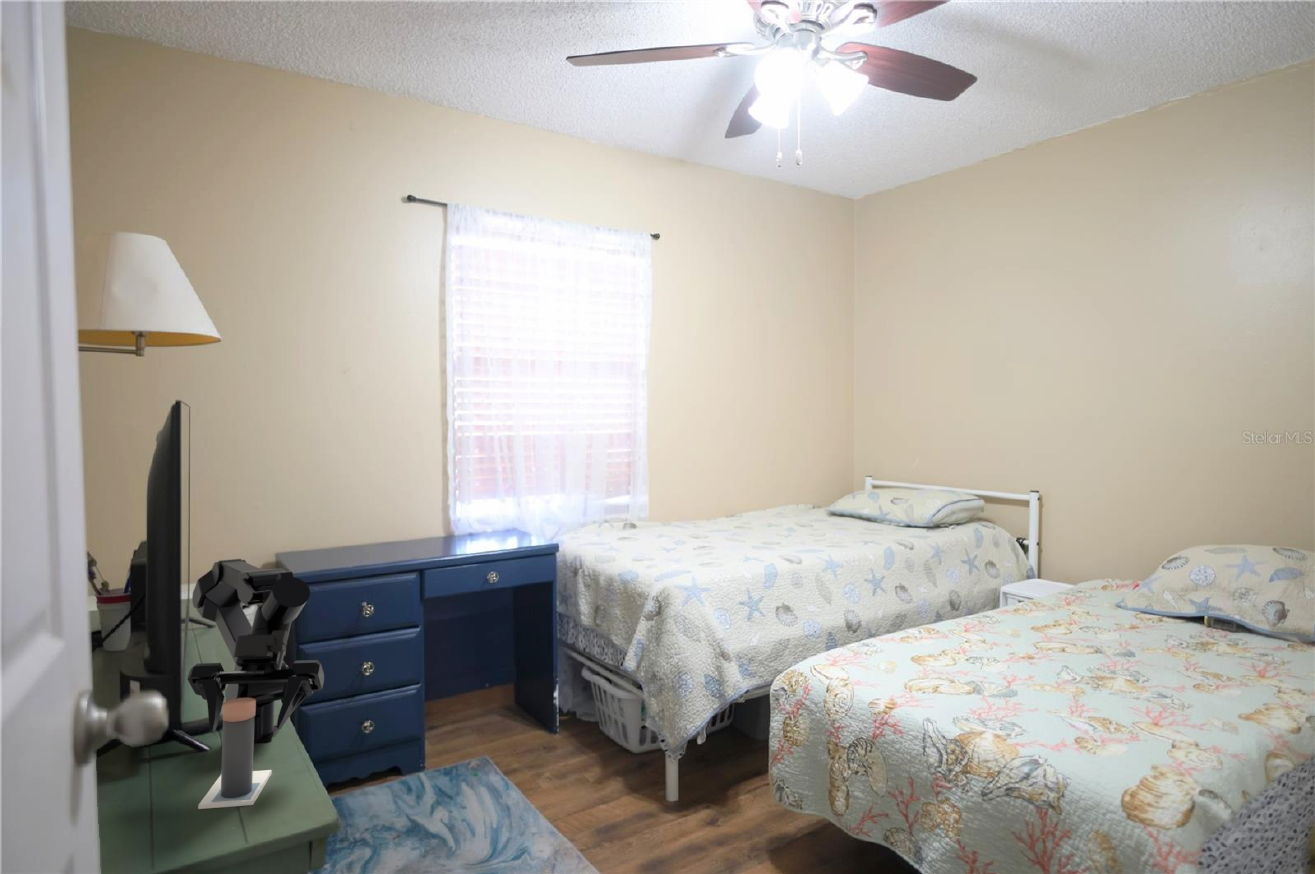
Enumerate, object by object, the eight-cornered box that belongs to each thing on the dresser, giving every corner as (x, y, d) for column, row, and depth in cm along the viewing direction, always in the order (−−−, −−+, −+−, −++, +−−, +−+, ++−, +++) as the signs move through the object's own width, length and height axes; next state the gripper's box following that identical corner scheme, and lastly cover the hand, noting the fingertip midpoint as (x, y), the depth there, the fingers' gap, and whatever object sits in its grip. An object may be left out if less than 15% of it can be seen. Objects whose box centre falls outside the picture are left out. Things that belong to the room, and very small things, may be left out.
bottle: (225, 786, 111) (228, 698, 111) (256, 784, 112) (259, 697, 112) (215, 799, 107) (218, 708, 107) (248, 797, 108) (251, 707, 108)
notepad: (221, 777, 115) (221, 772, 115) (271, 773, 117) (271, 769, 117) (198, 809, 105) (198, 804, 105) (252, 805, 107) (253, 800, 107)
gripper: (194, 612, 116) (161, 709, 106) (322, 610, 120) (303, 703, 110) (210, 648, 124) (182, 742, 113) (331, 645, 128) (314, 735, 118)
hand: (245, 730), depth 113 cm, fingers open, 9 cm apart
